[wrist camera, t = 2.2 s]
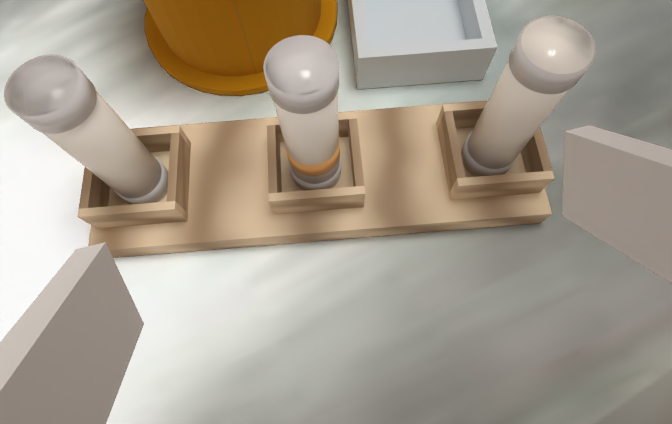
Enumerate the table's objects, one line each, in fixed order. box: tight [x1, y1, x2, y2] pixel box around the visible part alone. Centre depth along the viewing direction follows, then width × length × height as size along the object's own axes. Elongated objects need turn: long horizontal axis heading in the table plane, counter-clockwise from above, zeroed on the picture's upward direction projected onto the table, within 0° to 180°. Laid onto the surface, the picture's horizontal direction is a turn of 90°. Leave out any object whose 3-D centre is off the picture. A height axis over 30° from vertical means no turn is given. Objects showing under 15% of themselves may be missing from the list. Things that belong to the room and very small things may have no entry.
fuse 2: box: [461, 16, 596, 177], centre depth 28 cm, size 4×4×12 cm
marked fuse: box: [263, 35, 341, 191], centre depth 28 cm, size 4×4×12 cm
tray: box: [347, 0, 497, 89], centre depth 38 cm, size 11×11×4 cm
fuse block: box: [78, 100, 555, 258], centre depth 33 cm, size 34×10×4 cm, turn 94°
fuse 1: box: [4, 55, 169, 205], centre depth 27 cm, size 4×4×12 cm
